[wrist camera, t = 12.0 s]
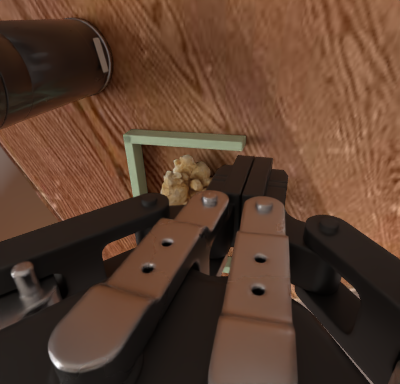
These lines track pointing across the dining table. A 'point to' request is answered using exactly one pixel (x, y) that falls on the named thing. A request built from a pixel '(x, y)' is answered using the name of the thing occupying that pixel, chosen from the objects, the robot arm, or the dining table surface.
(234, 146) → the frame
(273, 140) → the dining table surface
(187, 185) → the mineral formation
